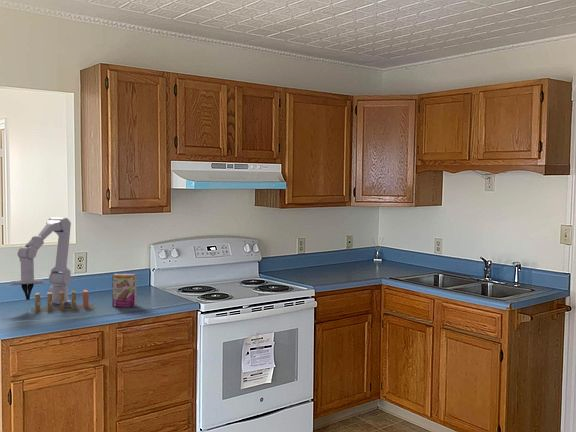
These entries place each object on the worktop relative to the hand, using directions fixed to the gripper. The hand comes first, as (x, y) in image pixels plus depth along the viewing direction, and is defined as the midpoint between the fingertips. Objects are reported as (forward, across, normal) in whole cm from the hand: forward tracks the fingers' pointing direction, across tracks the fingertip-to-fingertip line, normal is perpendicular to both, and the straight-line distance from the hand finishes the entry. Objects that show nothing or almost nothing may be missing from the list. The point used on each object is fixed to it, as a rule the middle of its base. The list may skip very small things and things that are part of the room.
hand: (27, 299), depth 282 cm
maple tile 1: (+5, +4, 0) cm, 7 cm away
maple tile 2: (+5, +10, 0) cm, 11 cm away
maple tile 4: (+5, +21, 0) cm, 21 cm away
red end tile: (+5, +26, 0) cm, 27 cm away
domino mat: (+6, +16, 0) cm, 17 cm away
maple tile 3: (+5, +15, 0) cm, 16 cm away
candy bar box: (+6, +45, -3) cm, 45 cm away
